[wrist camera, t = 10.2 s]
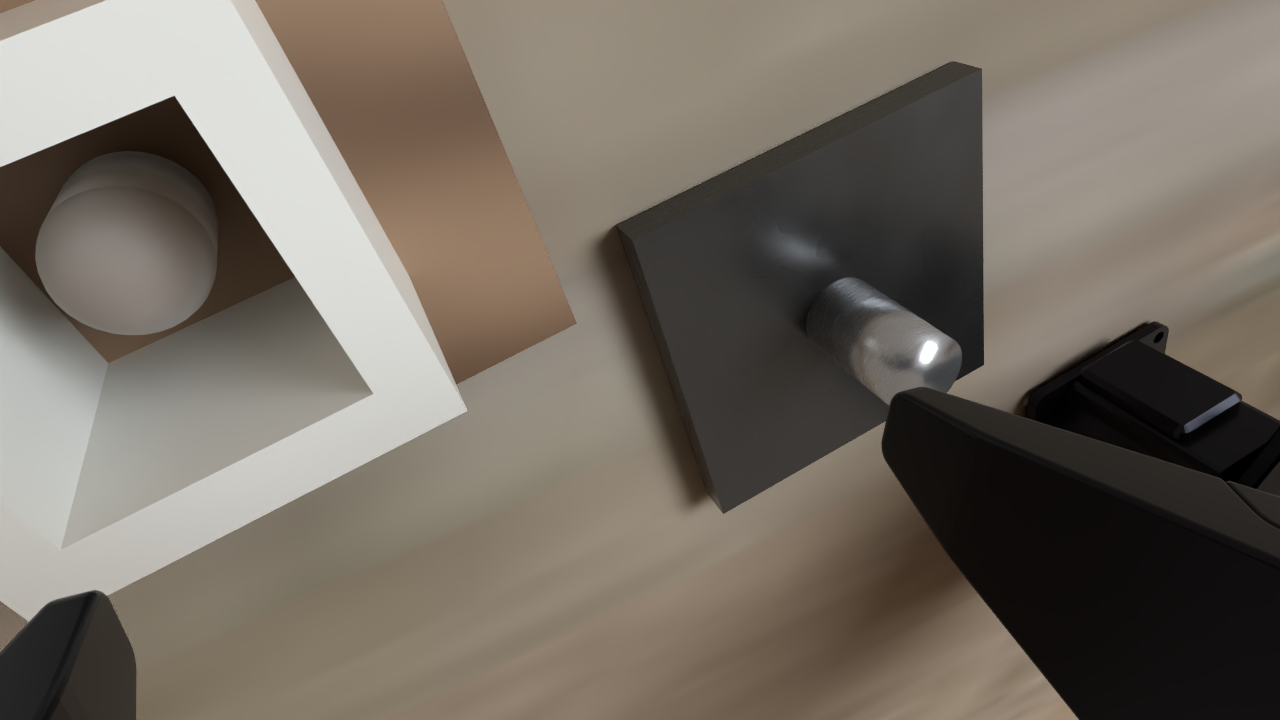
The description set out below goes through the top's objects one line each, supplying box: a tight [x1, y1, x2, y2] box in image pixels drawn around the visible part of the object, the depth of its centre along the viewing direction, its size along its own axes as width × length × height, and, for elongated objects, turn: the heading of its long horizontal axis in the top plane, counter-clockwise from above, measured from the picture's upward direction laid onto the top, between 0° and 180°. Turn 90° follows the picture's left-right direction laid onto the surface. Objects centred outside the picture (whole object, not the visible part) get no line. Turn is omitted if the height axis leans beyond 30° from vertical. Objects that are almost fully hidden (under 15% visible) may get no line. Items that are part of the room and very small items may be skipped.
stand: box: [616, 61, 984, 514], centre depth 21 cm, size 10×10×4 cm
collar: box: [0, 0, 467, 621], centre depth 11 cm, size 6×6×5 cm
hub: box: [0, 0, 576, 384], centre depth 12 cm, size 12×12×5 cm
